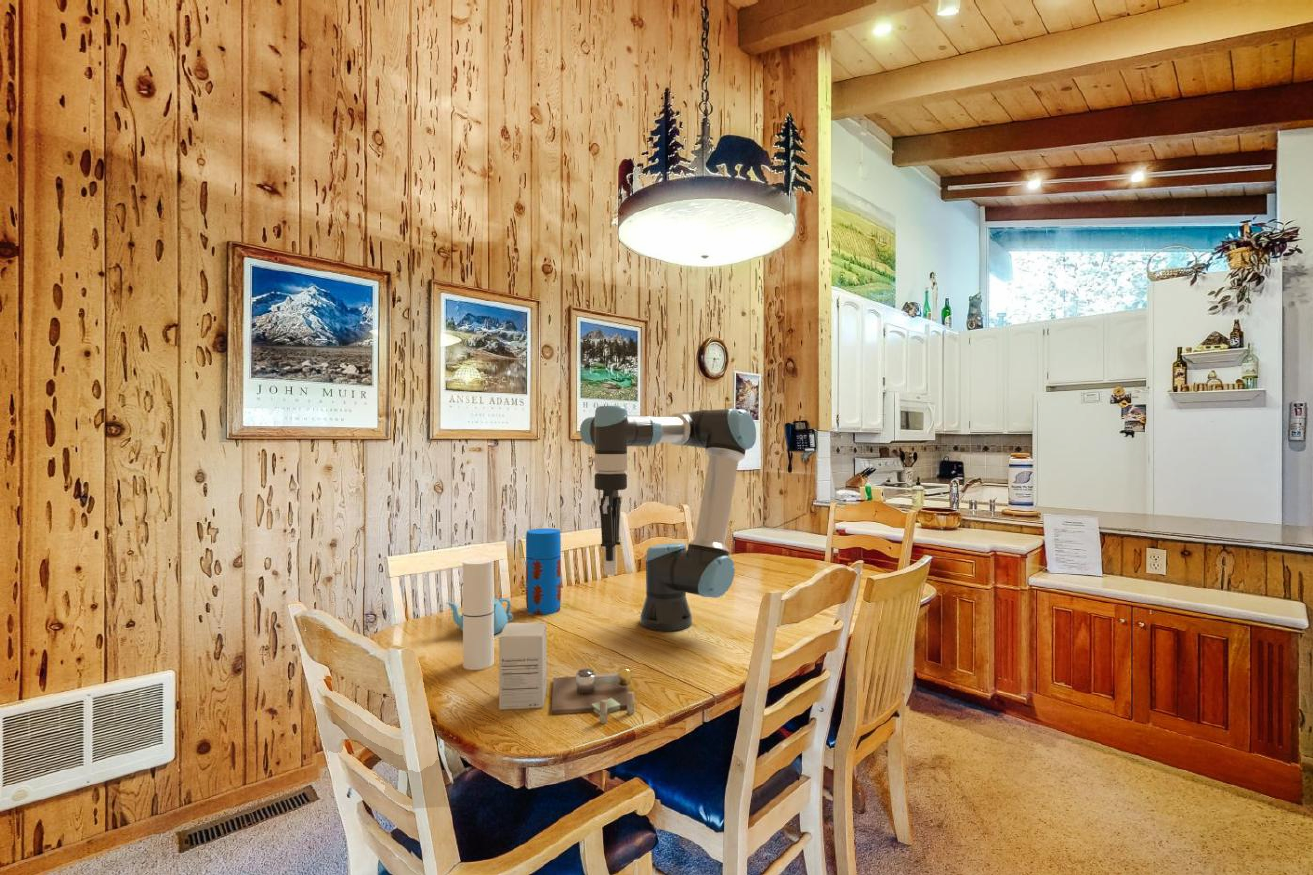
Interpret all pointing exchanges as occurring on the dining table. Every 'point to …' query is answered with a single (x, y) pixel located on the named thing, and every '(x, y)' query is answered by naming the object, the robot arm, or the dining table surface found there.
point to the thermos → (543, 571)
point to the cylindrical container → (478, 613)
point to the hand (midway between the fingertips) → (610, 573)
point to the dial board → (590, 698)
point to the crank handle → (601, 679)
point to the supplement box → (522, 666)
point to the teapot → (499, 615)
